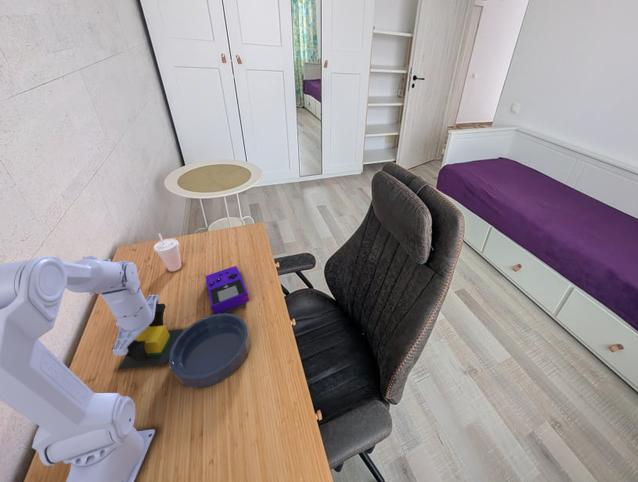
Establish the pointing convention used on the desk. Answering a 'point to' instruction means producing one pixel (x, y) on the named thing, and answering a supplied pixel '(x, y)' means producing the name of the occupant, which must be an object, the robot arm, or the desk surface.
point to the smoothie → (169, 253)
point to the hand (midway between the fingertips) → (150, 344)
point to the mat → (153, 359)
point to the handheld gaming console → (226, 290)
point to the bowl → (209, 350)
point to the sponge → (155, 339)
